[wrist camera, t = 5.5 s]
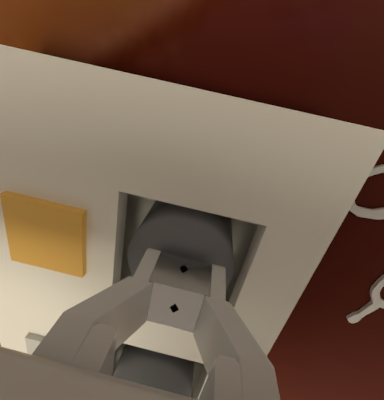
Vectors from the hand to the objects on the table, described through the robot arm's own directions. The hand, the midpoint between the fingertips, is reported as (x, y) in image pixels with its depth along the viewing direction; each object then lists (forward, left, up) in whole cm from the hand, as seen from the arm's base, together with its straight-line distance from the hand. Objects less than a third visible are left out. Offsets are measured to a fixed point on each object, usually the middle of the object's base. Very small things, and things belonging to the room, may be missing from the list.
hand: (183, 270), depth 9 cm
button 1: (0, 0, -4) cm, 4 cm away
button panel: (+2, +9, -5) cm, 10 cm away
